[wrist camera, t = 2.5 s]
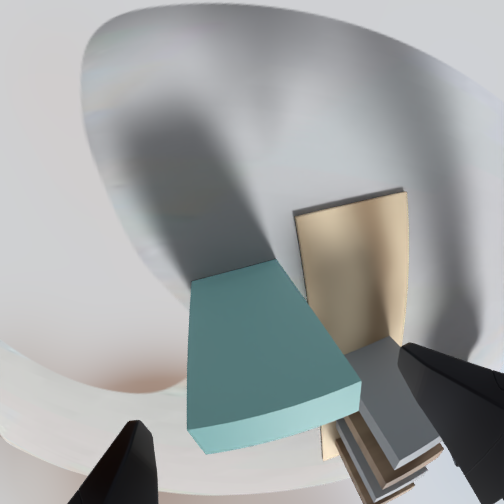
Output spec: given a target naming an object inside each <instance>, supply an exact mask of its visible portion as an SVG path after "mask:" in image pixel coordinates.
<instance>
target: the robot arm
mask: <svg viewBox="0 0 504 504" xmlns="http://www.w3.org/2000/svg"><path fill="white" fill-rule="evenodd" d="M397 365H398V369H399V370H400V372H401V374H402V376H403V378H404V380H405V381H406V383H407V385H408V387H409V389H410V391H411V393H412V395H413V396H414V398H415V400H416V402H417V403H418V405H419V406H420V408H421V409H422V410H423V412H424V413H425V415H426V416H427V418H428V419H429V421H430V422H431V424H432V425H433V427H434V428H435V430H436V431H437V433H438V434H439V436H440V437H441V439H442V440H443V442H444V444H445V445H446V446H447V448H448V450H449V451H450V453H451V455H452V458H453V461H454V463H455V465H456V466H457V467H460V468H461V470H462V472H463V474H464V475H465V477H466V479H467V480H468V482H469V484H470V485H471V487H472V489H473V490H474V492H475V494H476V496H477V497H478V499H479V501H480V503H481V504H494V503H496V502H497V501H499V500H500V499H502V498H503V500H504V373H500V372H497V371H494V370H493V371H492V370H491V369H488V368H485V367H481V366H478V365H475V364H472V363H469V362H466V361H463V360H460V359H457V358H454V357H452V356H449V355H446V354H443V353H440V352H437V351H434V350H431V349H428V348H426V347H423V346H420V345H417V344H414V343H407V344H405V345H403V346H401V347H400V349H399V356H398V362H397ZM68 504H158V479H157V468H156V460H155V452H154V444H153V437H152V434H151V432H150V431H149V430H148V429H147V428H146V426H145V425H144V424H143V423H142V422H141V421H140V420H132V421H129V422H127V424H126V425H125V426H124V428H123V429H122V430H121V432H120V433H119V435H118V436H117V437H116V439H115V440H114V441H113V443H112V444H111V445H110V447H109V448H108V450H107V451H106V452H105V454H104V455H103V456H102V458H101V459H100V460H99V462H98V463H97V465H96V466H95V467H94V469H93V470H92V471H91V473H90V474H89V475H88V477H87V478H86V479H85V481H84V482H83V484H82V485H81V486H80V488H79V490H78V491H77V492H76V493H75V494H74V496H73V497H72V498H71V500H70V501H69V502H68Z"/></svg>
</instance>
